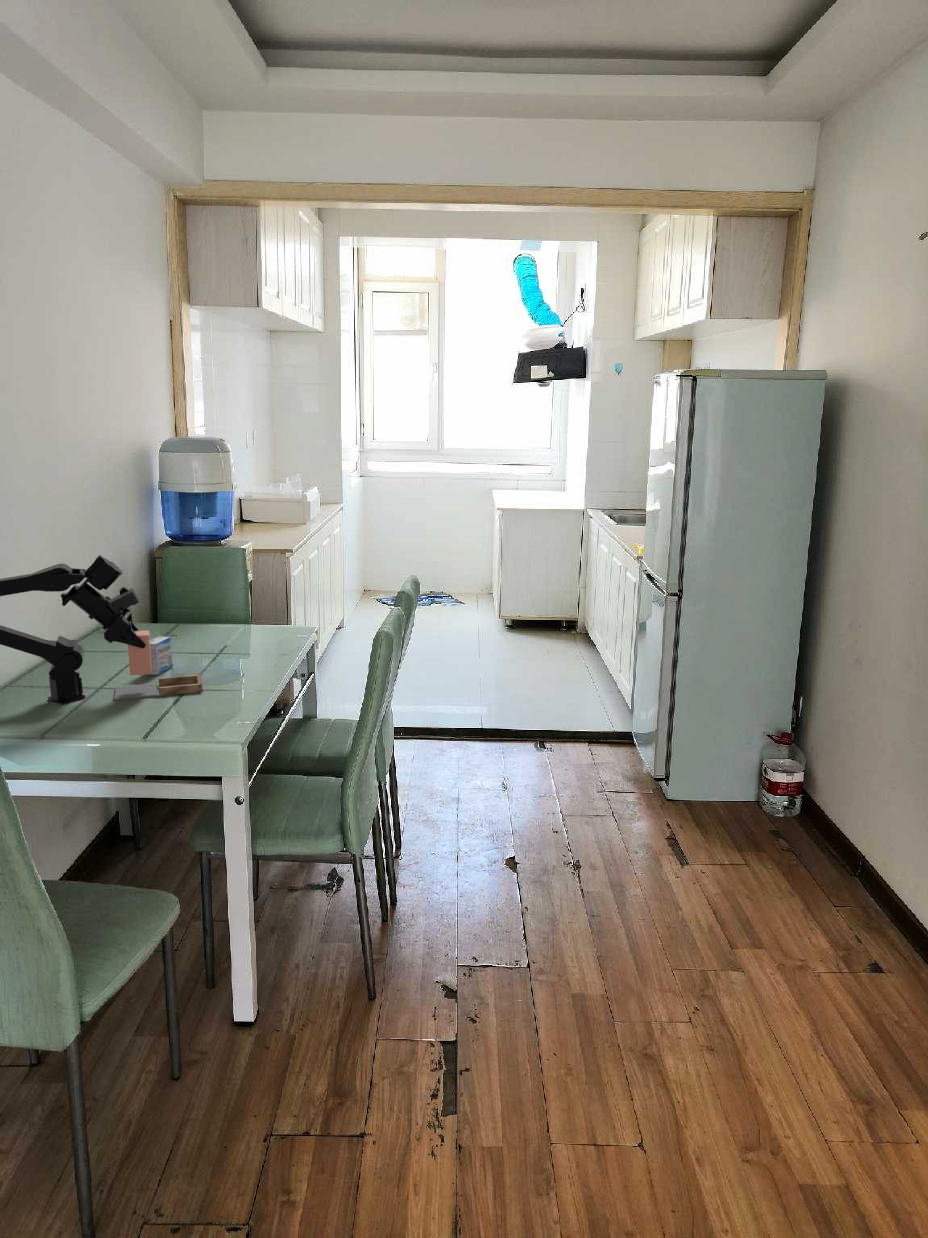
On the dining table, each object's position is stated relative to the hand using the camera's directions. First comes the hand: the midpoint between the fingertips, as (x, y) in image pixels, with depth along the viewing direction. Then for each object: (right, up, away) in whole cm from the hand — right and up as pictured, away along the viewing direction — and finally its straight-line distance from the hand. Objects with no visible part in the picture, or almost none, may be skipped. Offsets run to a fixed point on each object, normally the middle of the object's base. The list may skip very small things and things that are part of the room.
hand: (144, 644), depth 232 cm
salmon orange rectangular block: (-1, -7, +1) cm, 7 cm away
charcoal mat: (-3, -12, +2) cm, 13 cm away
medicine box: (-3, -8, +20) cm, 22 cm away
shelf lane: (+8, -11, +5) cm, 15 cm away
